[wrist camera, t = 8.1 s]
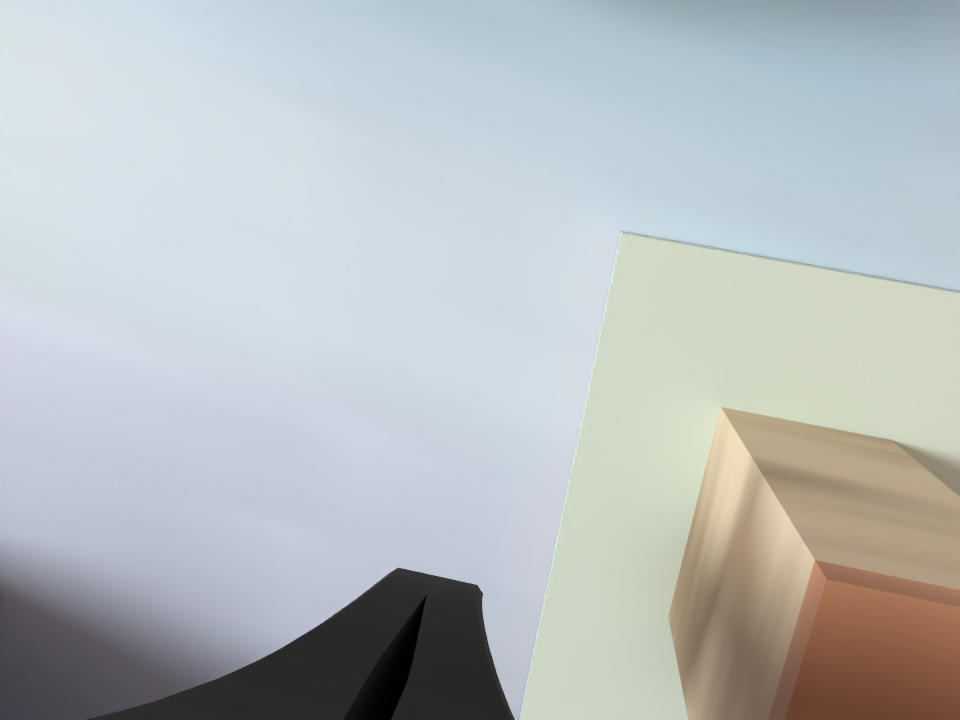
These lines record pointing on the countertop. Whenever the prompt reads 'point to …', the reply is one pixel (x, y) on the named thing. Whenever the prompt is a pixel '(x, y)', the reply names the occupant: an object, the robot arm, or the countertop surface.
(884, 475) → the beech block
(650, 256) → the sage board
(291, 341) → the countertop surface
